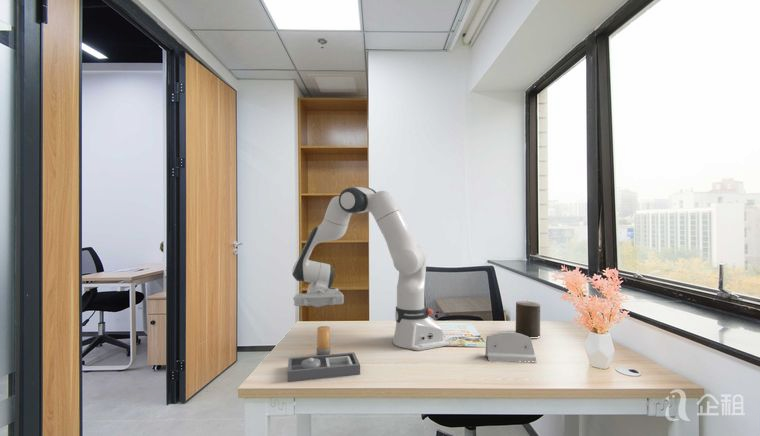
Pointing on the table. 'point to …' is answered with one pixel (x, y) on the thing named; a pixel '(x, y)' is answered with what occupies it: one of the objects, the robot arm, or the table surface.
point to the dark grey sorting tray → (323, 366)
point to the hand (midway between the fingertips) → (320, 303)
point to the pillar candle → (528, 318)
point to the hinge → (509, 347)
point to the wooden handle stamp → (323, 340)
